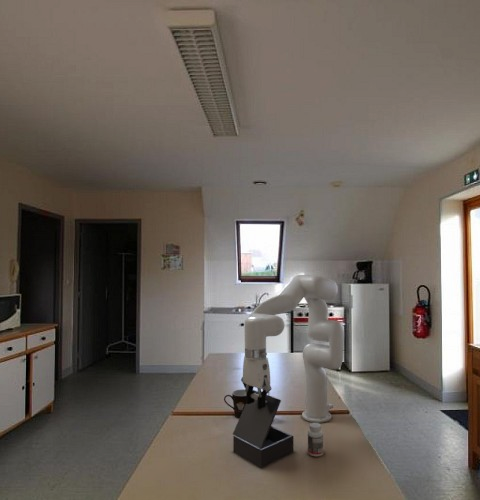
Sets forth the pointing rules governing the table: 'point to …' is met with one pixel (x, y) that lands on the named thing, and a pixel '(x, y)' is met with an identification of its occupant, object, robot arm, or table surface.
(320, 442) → the pill bottle
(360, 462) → the table surface
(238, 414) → the coffee mug
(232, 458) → the table surface
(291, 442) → the dark grey storage bin
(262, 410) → the lid
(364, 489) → the table surface
